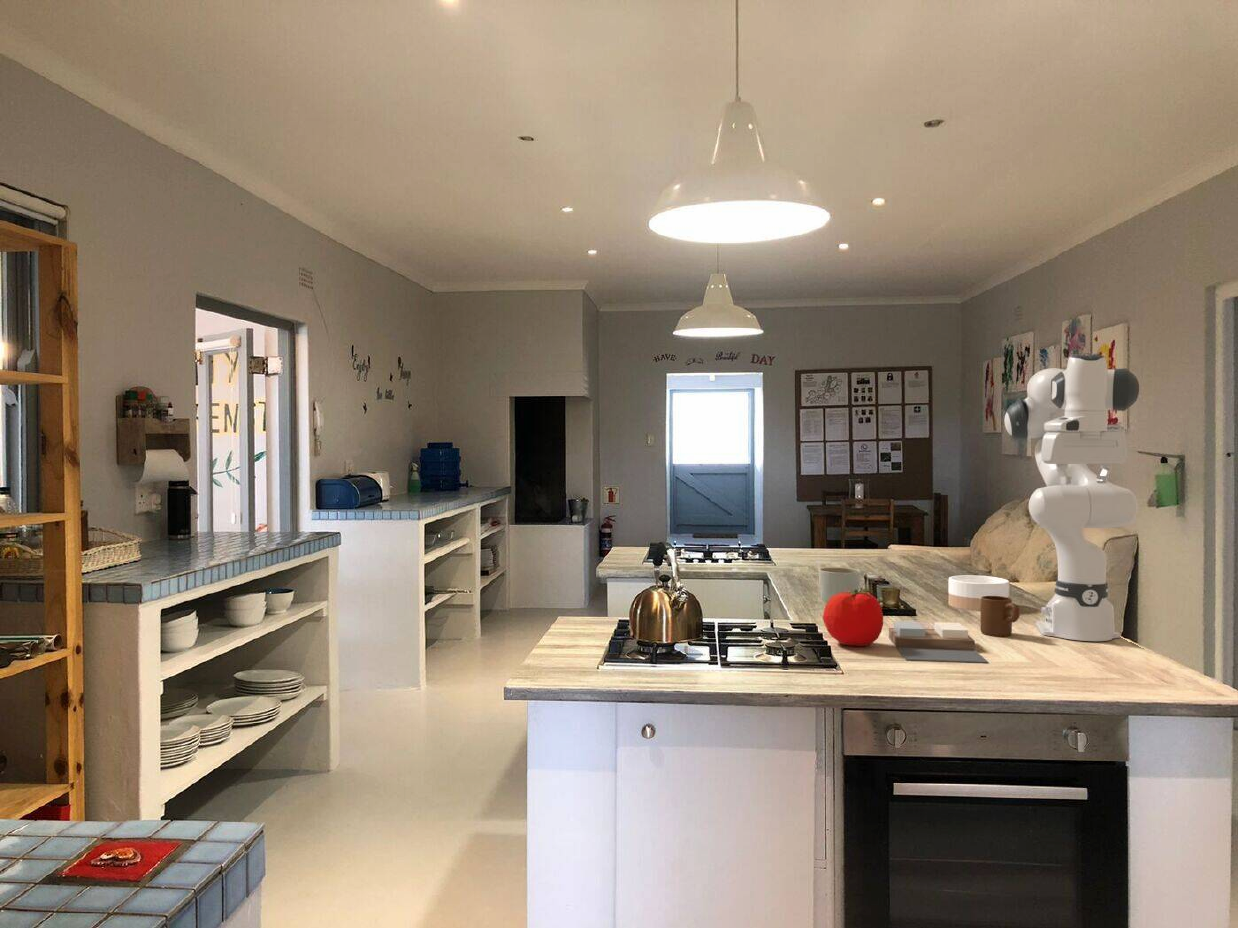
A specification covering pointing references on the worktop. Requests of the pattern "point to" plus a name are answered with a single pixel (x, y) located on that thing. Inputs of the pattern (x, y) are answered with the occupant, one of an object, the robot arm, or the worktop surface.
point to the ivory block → (950, 630)
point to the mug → (998, 615)
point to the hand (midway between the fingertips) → (1083, 483)
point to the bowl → (975, 590)
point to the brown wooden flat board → (931, 641)
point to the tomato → (853, 618)
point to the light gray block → (909, 629)
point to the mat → (941, 655)
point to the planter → (838, 581)
